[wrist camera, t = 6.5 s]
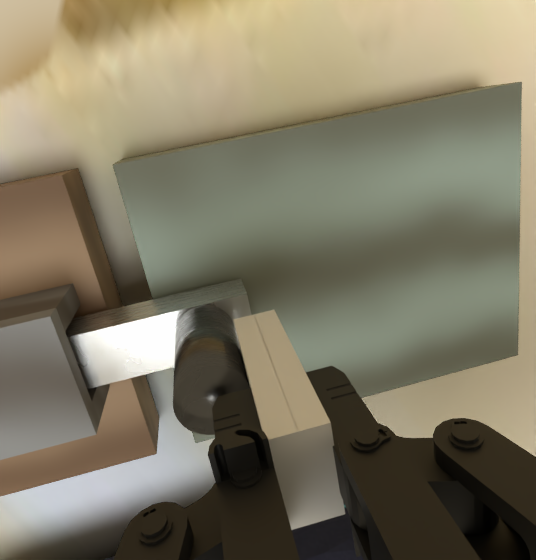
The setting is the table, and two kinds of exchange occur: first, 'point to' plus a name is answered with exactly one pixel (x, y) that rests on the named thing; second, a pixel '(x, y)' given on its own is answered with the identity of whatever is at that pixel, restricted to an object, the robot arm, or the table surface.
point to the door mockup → (270, 263)
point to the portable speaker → (324, 540)
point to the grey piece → (169, 347)
